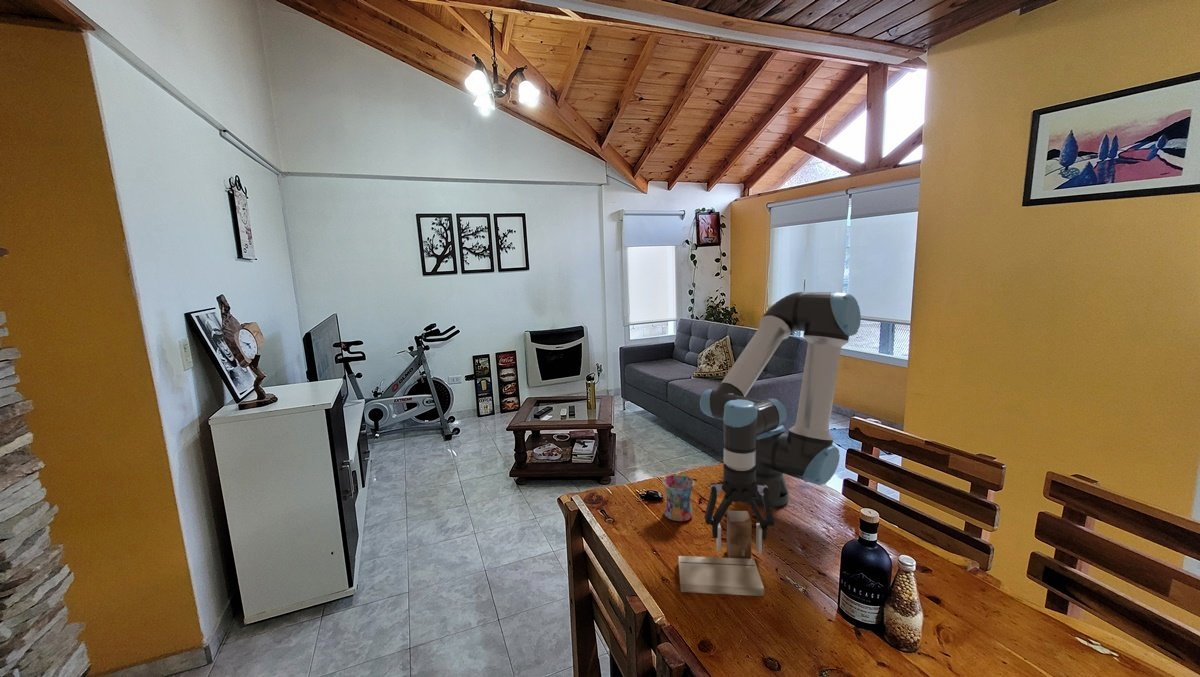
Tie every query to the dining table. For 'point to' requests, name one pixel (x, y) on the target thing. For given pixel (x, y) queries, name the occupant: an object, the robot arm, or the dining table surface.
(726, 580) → the board
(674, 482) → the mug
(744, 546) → the brown box
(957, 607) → the dining table surface
